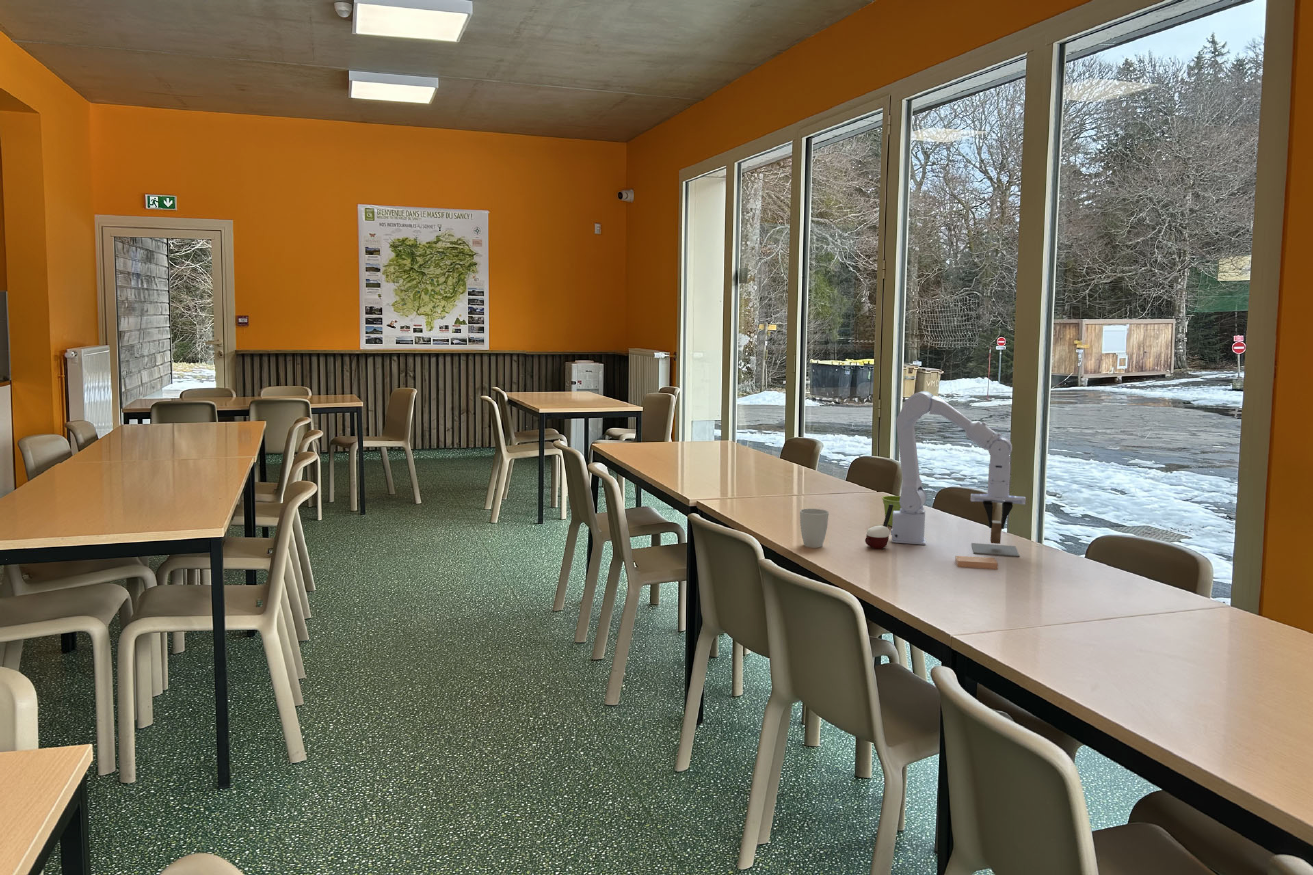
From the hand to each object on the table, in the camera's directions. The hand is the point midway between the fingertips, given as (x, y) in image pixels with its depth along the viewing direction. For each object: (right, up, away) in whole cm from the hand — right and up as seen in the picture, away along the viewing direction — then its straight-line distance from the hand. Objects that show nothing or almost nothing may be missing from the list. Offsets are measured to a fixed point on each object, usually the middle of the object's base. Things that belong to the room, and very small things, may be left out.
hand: (996, 527), depth 268 cm
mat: (0, -7, +1) cm, 7 cm away
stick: (0, -4, +1) cm, 4 cm away
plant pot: (-20, -3, +33) cm, 39 cm away
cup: (-51, -6, +4) cm, 52 cm away
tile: (-10, -8, -13) cm, 18 cm away
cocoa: (-33, -6, +3) cm, 33 cm away
